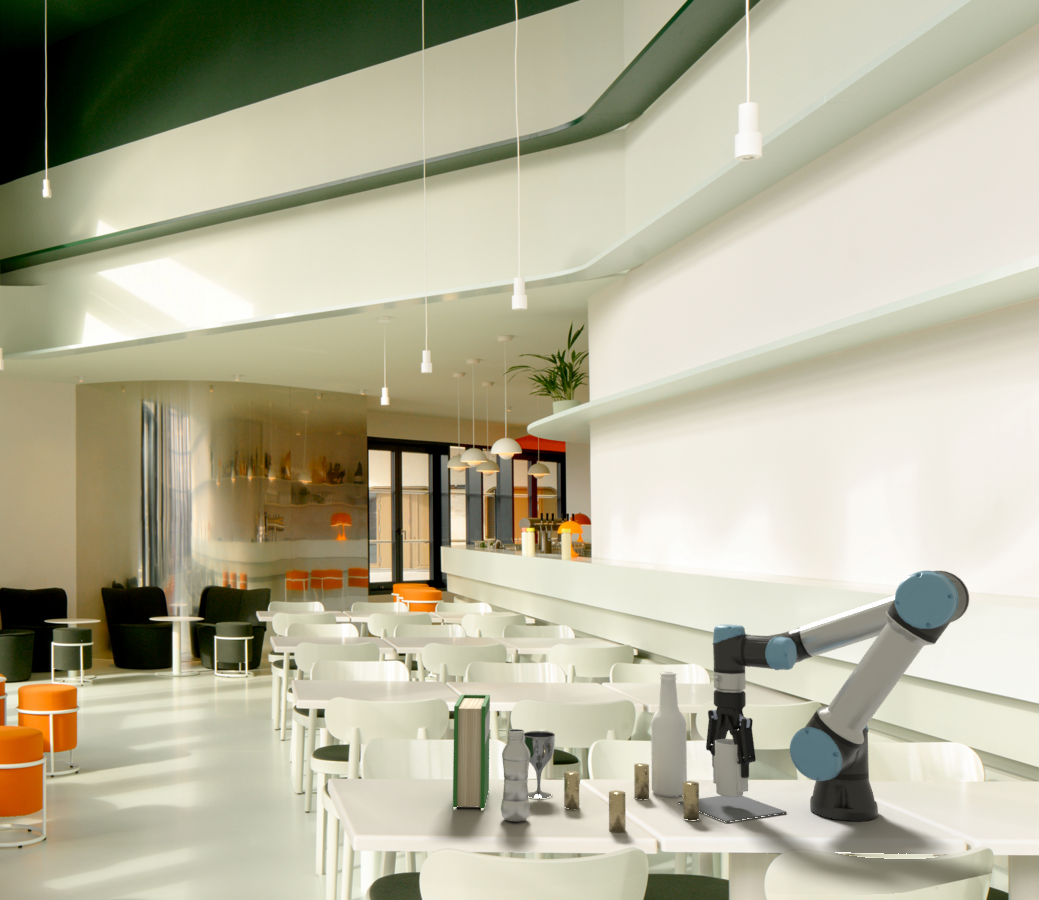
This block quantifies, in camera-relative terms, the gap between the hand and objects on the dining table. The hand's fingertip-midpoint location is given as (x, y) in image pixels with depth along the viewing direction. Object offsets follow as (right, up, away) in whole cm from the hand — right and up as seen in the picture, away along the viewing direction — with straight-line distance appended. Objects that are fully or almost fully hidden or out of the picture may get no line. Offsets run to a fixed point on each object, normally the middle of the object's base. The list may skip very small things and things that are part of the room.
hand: (730, 786), depth 226 cm
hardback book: (-62, -5, +5) cm, 63 cm away
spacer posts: (-25, -4, -5) cm, 25 cm away
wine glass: (-46, -6, +10) cm, 47 cm away
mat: (0, -5, -1) cm, 5 cm away
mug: (0, -1, 0) cm, 2 cm away
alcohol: (-13, -6, +13) cm, 19 cm away
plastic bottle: (-51, -4, -12) cm, 53 cm away
